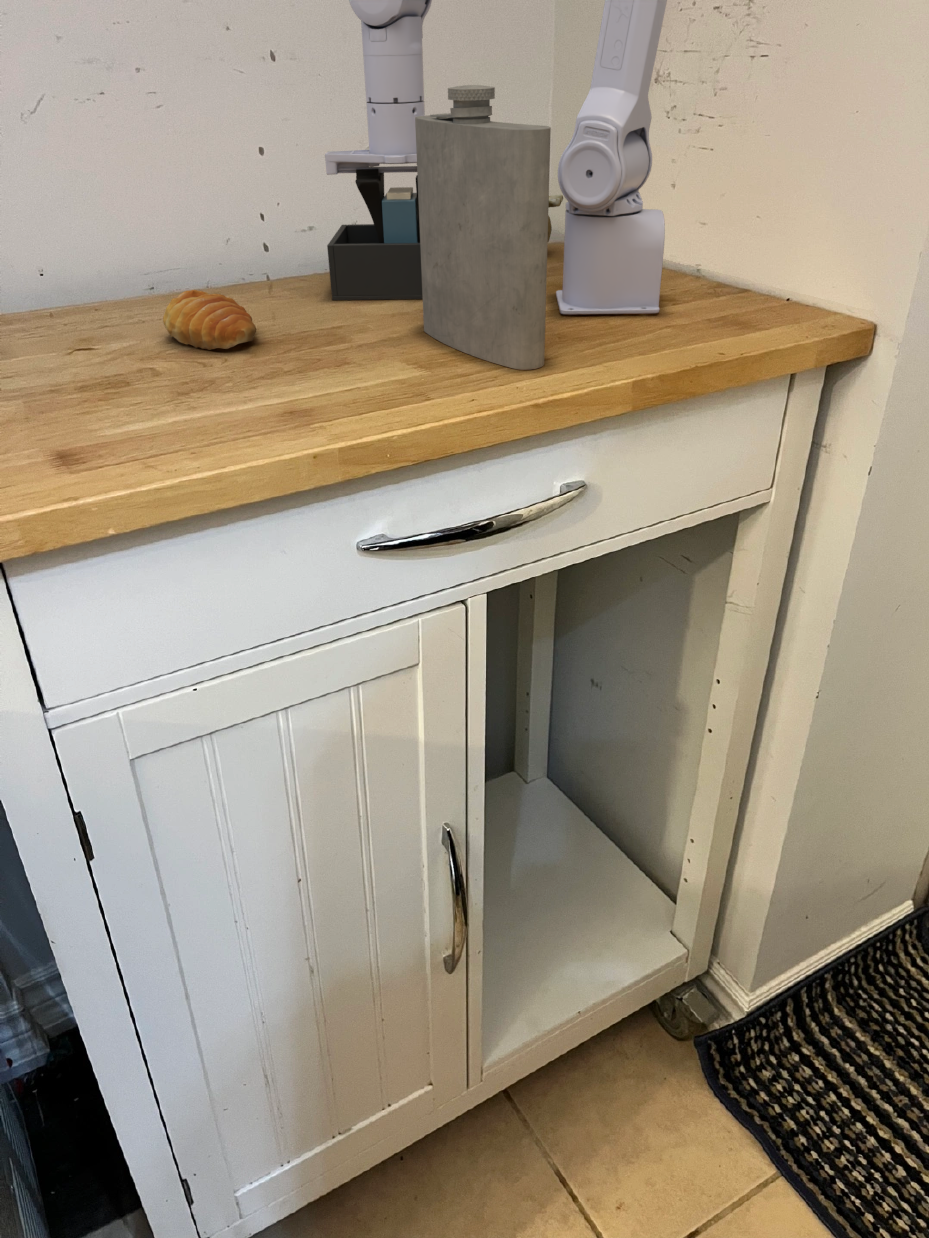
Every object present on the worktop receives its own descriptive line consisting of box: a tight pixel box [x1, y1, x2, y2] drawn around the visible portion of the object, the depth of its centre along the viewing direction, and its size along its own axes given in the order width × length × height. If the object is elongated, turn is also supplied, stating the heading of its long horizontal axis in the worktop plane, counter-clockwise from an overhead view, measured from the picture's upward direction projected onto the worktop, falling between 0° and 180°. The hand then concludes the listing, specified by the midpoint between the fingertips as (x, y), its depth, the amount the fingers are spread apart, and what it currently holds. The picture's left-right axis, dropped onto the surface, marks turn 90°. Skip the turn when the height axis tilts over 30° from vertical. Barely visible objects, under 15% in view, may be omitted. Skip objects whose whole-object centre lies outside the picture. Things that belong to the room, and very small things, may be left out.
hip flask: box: [415, 84, 552, 371], centre depth 77 cm, size 16×4×20 cm, turn 34°
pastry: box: [162, 289, 258, 351], centre depth 84 cm, size 9×7×4 cm
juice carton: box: [382, 186, 418, 243], centre depth 98 cm, size 3×5×8 cm
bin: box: [326, 223, 423, 301], centre depth 100 cm, size 14×11×5 cm
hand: (402, 248), depth 99 cm, fingers closed on juice carton, 3 cm apart
